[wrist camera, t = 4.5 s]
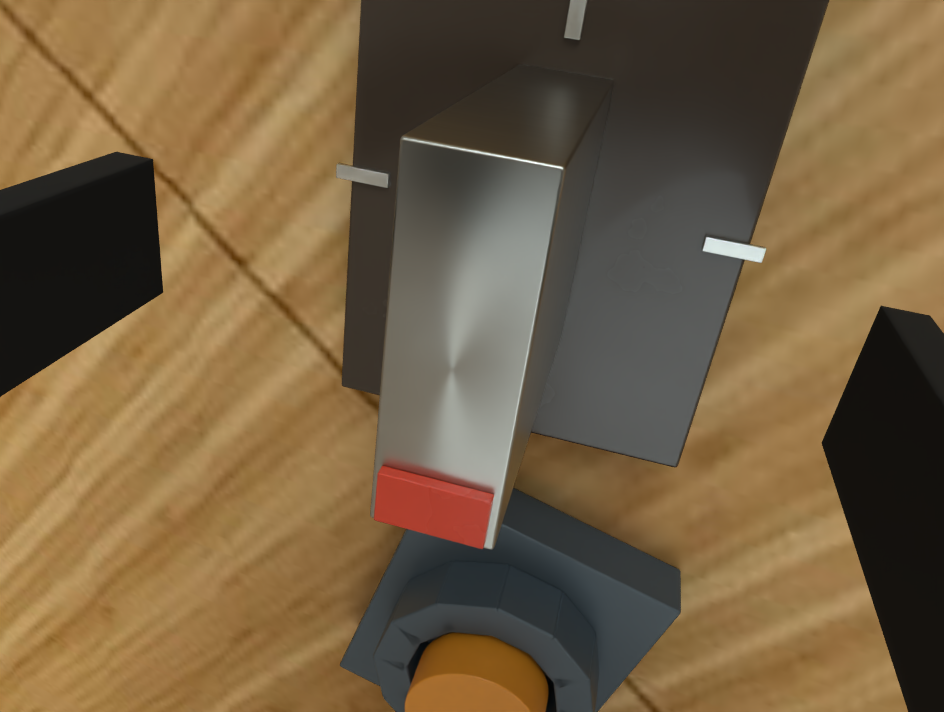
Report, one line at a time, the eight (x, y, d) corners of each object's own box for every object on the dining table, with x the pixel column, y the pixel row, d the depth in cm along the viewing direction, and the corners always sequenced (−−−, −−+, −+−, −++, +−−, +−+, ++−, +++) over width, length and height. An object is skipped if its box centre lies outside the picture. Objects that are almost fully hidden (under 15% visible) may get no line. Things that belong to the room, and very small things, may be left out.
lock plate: (389, -117, 18) (348, -130, 16) (844, -55, 17) (870, -58, 14) (359, 347, 25) (327, 386, 22) (689, 425, 23) (690, 475, 21)
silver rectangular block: (518, 63, 17) (393, 138, 10) (614, 80, 17) (563, 171, 9) (480, 318, 20) (364, 527, 13) (561, 336, 20) (489, 561, 12)
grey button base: (443, 452, 26) (407, 527, 22) (681, 569, 26) (682, 663, 22) (357, 627, 31) (317, 710, 27) (555, 726, 31) (539, 822, 27)
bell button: (447, 609, 24) (432, 652, 22) (571, 671, 24) (564, 718, 22) (402, 686, 26) (385, 730, 25) (516, 743, 26) (506, 790, 25)
